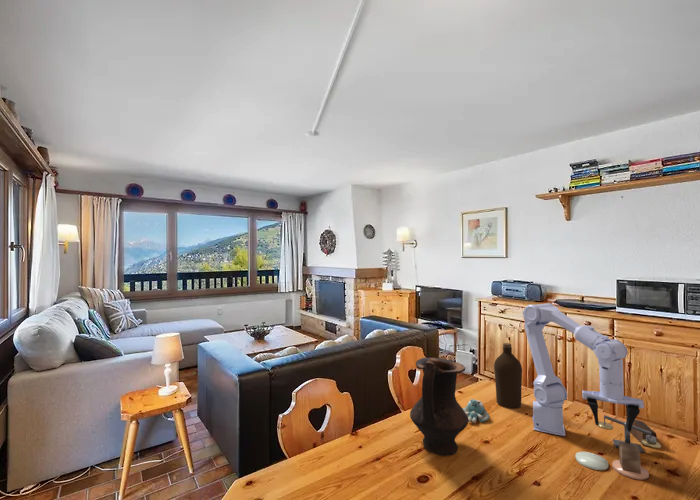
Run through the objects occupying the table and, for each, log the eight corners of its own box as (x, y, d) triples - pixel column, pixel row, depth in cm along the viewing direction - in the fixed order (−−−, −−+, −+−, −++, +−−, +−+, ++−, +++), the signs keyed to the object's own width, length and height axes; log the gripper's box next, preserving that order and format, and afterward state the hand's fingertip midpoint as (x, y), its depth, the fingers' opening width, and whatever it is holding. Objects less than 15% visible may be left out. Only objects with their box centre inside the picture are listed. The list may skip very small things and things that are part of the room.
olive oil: (509, 411, 135) (507, 348, 136) (489, 401, 145) (487, 342, 146) (529, 407, 139) (527, 345, 140) (508, 397, 149) (506, 339, 150)
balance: (598, 444, 111) (597, 416, 111) (596, 437, 115) (595, 411, 115) (663, 457, 103) (661, 428, 103) (658, 450, 107) (657, 421, 107)
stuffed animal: (455, 407, 127) (462, 390, 138) (457, 425, 128) (463, 407, 139) (486, 414, 122) (491, 396, 132) (487, 432, 123) (492, 413, 133)
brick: (657, 447, 109) (657, 432, 109) (642, 446, 110) (642, 431, 110) (640, 431, 119) (640, 418, 119) (626, 430, 120) (626, 416, 120)
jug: (420, 427, 124) (419, 344, 125) (474, 440, 114) (471, 350, 115) (399, 456, 105) (397, 359, 106) (460, 475, 96) (457, 367, 97)
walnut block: (622, 469, 96) (621, 448, 96) (619, 462, 100) (619, 441, 100) (640, 474, 94) (640, 452, 94) (637, 466, 98) (636, 445, 98)
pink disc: (615, 474, 95) (615, 471, 95) (610, 459, 102) (610, 457, 102) (652, 483, 91) (652, 480, 91) (644, 467, 98) (644, 464, 98)
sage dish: (576, 465, 100) (576, 462, 100) (574, 451, 107) (574, 449, 107) (610, 473, 96) (610, 470, 96) (606, 458, 103) (606, 456, 103)
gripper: (583, 381, 103) (584, 426, 102) (646, 390, 95) (647, 439, 95) (581, 374, 109) (582, 417, 108) (639, 382, 101) (641, 428, 101)
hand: (612, 426), depth 102 cm, fingers open, 7 cm apart
